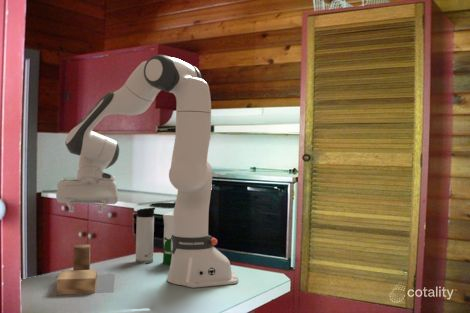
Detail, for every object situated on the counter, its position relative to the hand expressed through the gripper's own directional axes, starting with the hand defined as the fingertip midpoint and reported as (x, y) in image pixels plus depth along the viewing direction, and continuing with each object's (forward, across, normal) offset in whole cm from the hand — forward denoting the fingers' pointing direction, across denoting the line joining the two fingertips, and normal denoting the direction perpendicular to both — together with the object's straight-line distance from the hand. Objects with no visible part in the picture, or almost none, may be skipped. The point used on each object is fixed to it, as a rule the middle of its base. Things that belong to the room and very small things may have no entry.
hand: (85, 211), depth 156 cm
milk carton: (+9, +32, +19) cm, 38 cm away
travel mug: (+7, +21, +21) cm, 30 cm away
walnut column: (+22, +1, +4) cm, 23 cm away
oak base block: (+30, 0, -3) cm, 30 cm away
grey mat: (+27, +2, +1) cm, 27 cm away
